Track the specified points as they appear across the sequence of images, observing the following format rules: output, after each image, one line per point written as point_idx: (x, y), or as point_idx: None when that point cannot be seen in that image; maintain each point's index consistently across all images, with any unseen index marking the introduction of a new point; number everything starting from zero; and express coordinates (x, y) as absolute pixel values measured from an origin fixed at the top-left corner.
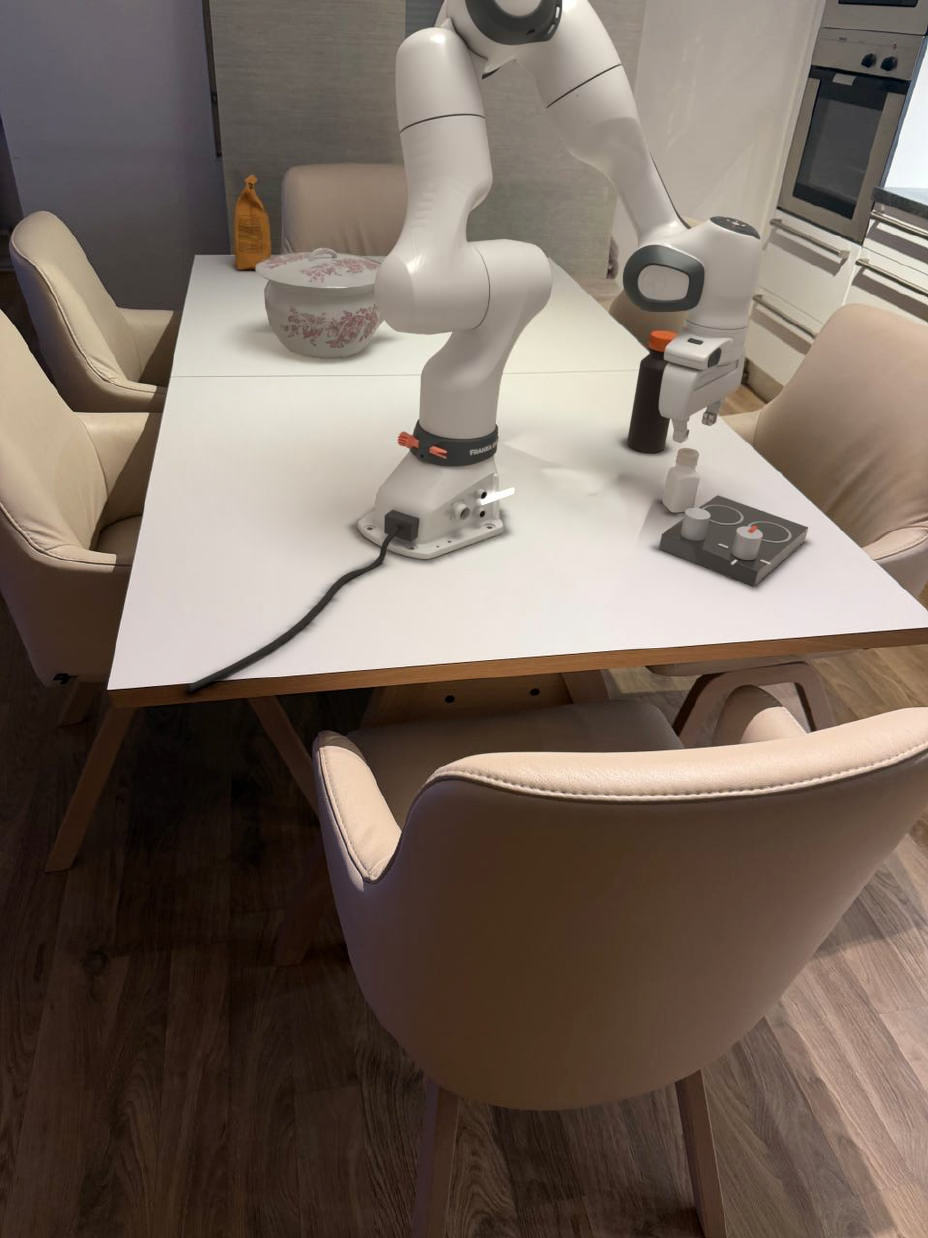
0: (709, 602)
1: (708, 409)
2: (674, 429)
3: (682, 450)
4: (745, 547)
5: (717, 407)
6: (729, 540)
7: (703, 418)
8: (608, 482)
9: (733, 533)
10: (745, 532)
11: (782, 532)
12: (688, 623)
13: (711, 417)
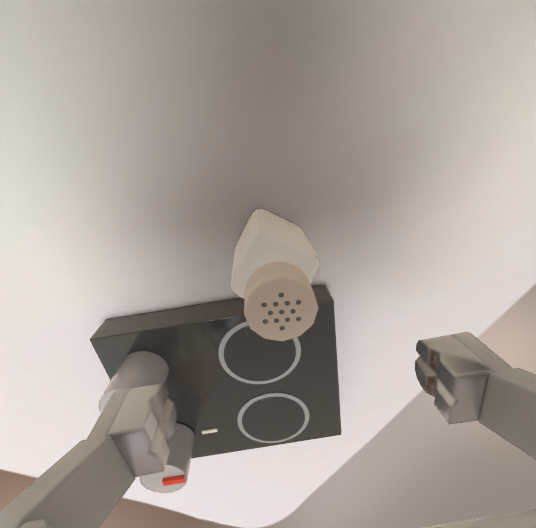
0: (72, 433)
1: (504, 390)
2: (89, 438)
3: (274, 293)
4: None
5: (528, 444)
6: (190, 405)
7: (438, 355)
8: (234, 25)
9: (217, 396)
10: (155, 477)
11: (287, 430)
12: (8, 446)
13: (440, 406)
